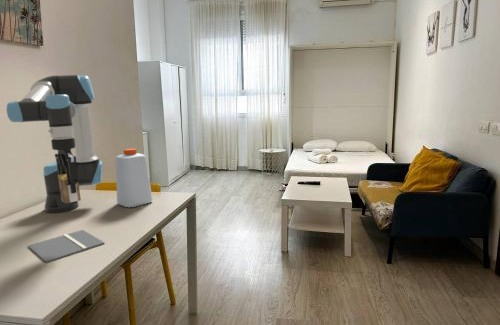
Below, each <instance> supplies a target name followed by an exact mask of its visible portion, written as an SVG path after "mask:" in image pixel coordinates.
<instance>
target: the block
mask: <svg viewBox="0 0 500 325" xmlns="http://www.w3.org/2000/svg"><path fill="white" fill-rule="evenodd" d="M58 178H59V186H60V193H61V200H62V202H64V203H72V202H70V199H69V192H68V185H67V184H68V179H67V175H66V174H61V175H58ZM76 187H77V195H78V202H80V201H82V198H81V192H80V186H79V182H78V183H77V184H76ZM75 202H76V201H75Z"/></svg>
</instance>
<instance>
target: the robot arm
mask: <svg viewBox="0 0 500 325" xmlns="http://www.w3.org/2000/svg"><path fill="white" fill-rule="evenodd" d="M94 100H95V92H94V89H93V85H92V81H91V79H90V77H89V76H88V75H82V74H71V75H70V74H69V75H67V74H66V75H49V76H47V77H46V76H45V77H43V78H41V79H39V80H37V81H35V82H33V84H32V85H31V87H30V91H29V92H27V94H26V95H25V96H24V97H23V98H22V99H21V100H20V101H16V100H14V101H10V102H7V104H6V114H7V118H8V120H9V121H10V122H12V123H27V122H28V123H30V122H46V121H47V122H48V125H49V126H48V127H49V129H48V130H47V131H48V133H50V138H51V149H52V150H53V151H57V153H55V154H54V157H55V161H56V162H52V163H49V164H46V165H45V166H44V167H43V179H44V185H45V192H46V198H45V203H44V211H45V212H46V213H49V214H51V213H52V214H54V213H55V214H56V213H63V212H64V213H65V212H69V211H71V210H75V209H76V208H78V207H79V201H78V195H77V187H76V184H77V183H78V182H79V187H81V186H82V187H83V186H93V185H94V186H95V185H99V184H101V183H102V179H103V161H102V160H100V159H99V156H97V155H96V154H95V145H94V137H93V129H92V121H91V114H90V107H91V105H93V101H94ZM72 149H74V150H75V151H74V152H75V155H73V153H72ZM61 174H66V175H67V179H68V184H67V185H68V192H69V199H70V202H72V203H64V202H62V200H61V193H60V186H59V178H58V175H61ZM75 201H76V202H75Z"/></svg>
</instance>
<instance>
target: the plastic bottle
mask: <svg viewBox="0 0 500 325" xmlns="http://www.w3.org/2000/svg"><path fill="white" fill-rule="evenodd" d="M115 174H116V179H115V180H116V182H115V184H116V203H117V204H118V205H120V206H123V208H124V207H125V208H127V207H128V208H129V209H131V208H130V207H132V208H136V206H137V207H140V206H139V205H141V206H144V205H143V204H145V205H147V203H148V204H151V203H152V202H153V194H152V189H151V181H150V174H149V169H148V163H147V158H146V155H145V154H143V153H139V152H137V149H136V148H125V149H123V154H119V155H116V157H115ZM150 202H151V203H150Z"/></svg>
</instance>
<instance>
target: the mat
mask: <svg viewBox="0 0 500 325" xmlns="http://www.w3.org/2000/svg"><path fill="white" fill-rule="evenodd" d="M102 245H105V242H104V241H103V240H101V239H99V238H97V237H96V236H94V235H92V234H91V233H89V232H88V231H86V230H83V229H80V230H78V231H74V232H70V233H64V234H62V235H60V236H57V237H53V238H50V239H46V240H42V241H38V242H35V243H32V244H28V245H27V246H28V248H29V249H30V250H31V251H32V252H34V253H35V254H36V255H37V256H38V257H39V258H40V259H41V260H42V259H43V260H42V261H44V262H45V263H50V262H53V261H56V260H60V259H63V258H66V257H68V256H72V255H75V254H78V253H81V252H84V251H86V250H90V249H93V248H96V247H99V246H102Z"/></svg>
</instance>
